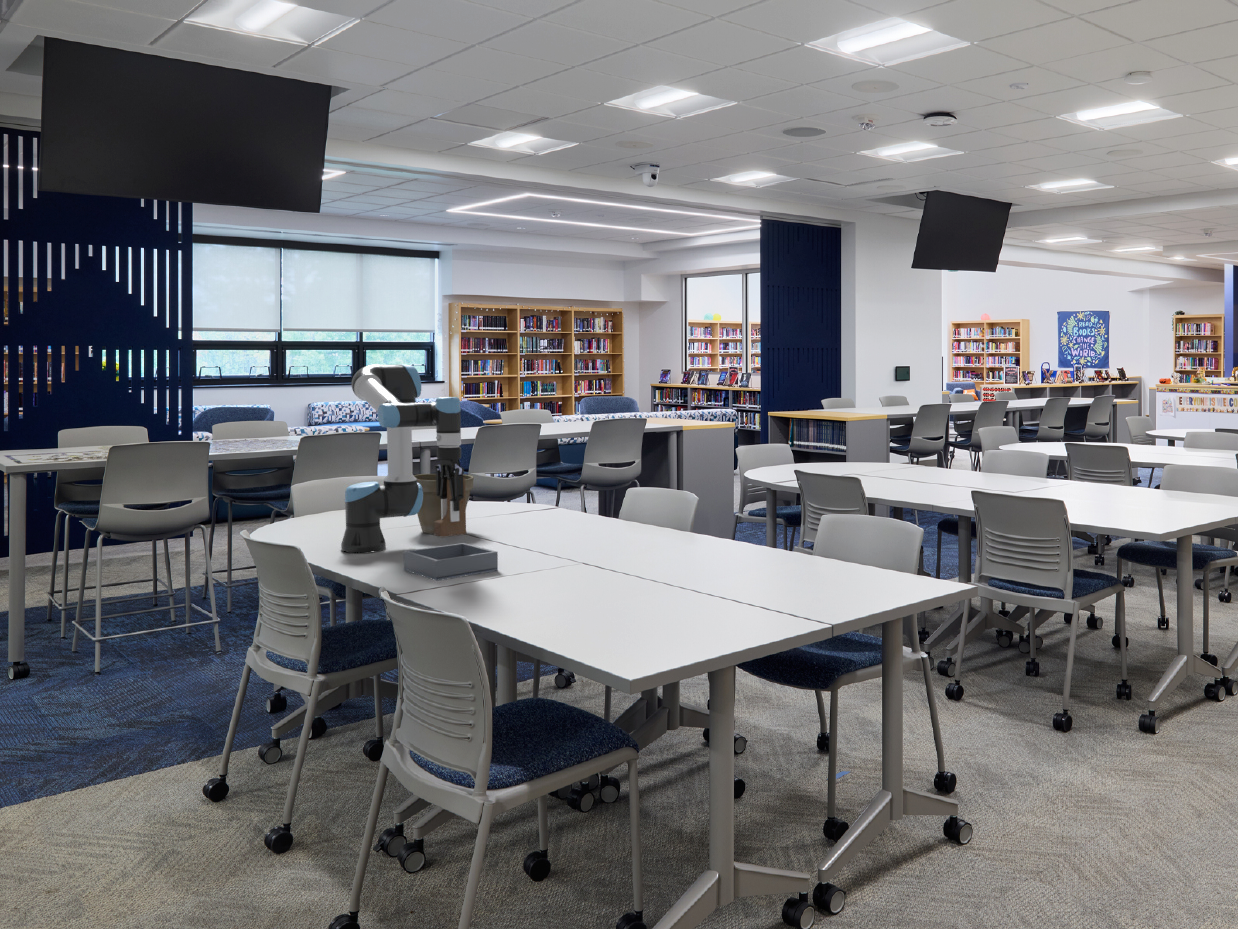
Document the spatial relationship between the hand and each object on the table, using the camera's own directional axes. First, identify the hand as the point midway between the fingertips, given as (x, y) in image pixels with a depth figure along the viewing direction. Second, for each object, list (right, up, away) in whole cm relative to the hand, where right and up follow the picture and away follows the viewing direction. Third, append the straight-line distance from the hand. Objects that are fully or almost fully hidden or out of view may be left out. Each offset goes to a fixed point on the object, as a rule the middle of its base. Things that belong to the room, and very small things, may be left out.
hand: (450, 520), depth 301 cm
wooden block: (0, -5, 0) cm, 5 cm away
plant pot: (-16, -9, +73) cm, 75 cm away
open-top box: (0, -16, +2) cm, 16 cm away
